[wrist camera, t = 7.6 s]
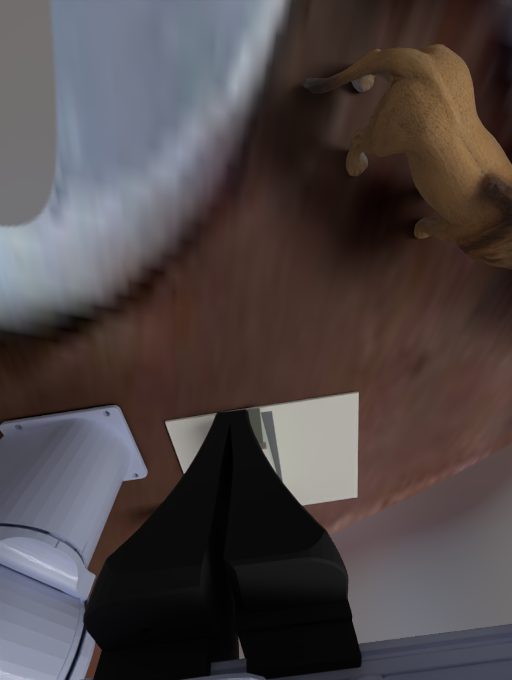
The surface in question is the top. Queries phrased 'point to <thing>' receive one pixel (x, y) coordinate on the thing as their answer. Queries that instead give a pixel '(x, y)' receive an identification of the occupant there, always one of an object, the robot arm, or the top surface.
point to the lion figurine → (436, 145)
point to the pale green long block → (261, 433)
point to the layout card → (296, 444)
